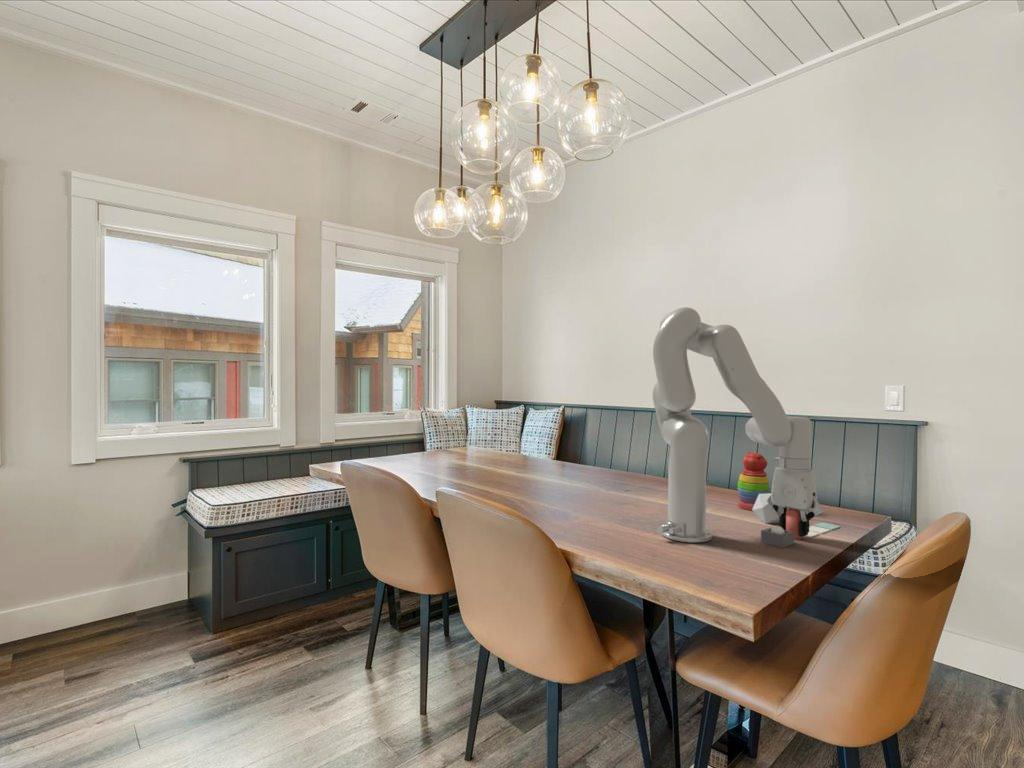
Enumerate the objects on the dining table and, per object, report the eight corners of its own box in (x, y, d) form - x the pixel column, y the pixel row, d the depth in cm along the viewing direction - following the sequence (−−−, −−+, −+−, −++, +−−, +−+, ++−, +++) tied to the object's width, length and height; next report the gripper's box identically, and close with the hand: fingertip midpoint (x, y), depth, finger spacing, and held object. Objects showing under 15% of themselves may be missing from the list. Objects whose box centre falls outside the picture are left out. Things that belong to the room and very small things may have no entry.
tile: (831, 530, 150) (831, 529, 150) (813, 526, 154) (813, 525, 154) (840, 527, 153) (840, 526, 153) (821, 523, 157) (821, 522, 157)
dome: (780, 543, 136) (780, 528, 136) (768, 540, 139) (768, 525, 139) (787, 541, 138) (787, 526, 138) (774, 538, 141) (774, 523, 141)
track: (810, 537, 143) (810, 536, 143) (791, 533, 147) (791, 532, 147) (830, 530, 150) (830, 529, 150) (811, 526, 154) (811, 525, 154)
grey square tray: (782, 547, 135) (782, 535, 135) (760, 542, 139) (761, 530, 139) (794, 543, 138) (794, 532, 138) (772, 538, 143) (772, 526, 143)
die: (788, 530, 153) (797, 498, 157) (760, 514, 153) (770, 483, 157) (769, 532, 161) (779, 502, 165) (743, 517, 161) (753, 487, 165)
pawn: (797, 540, 141) (797, 509, 141) (782, 537, 144) (783, 506, 144) (804, 538, 143) (805, 507, 143) (790, 534, 146) (790, 504, 146)
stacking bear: (778, 511, 170) (779, 454, 170) (747, 512, 170) (747, 455, 170) (761, 503, 181) (761, 450, 181) (731, 503, 181) (731, 450, 180)
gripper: (756, 460, 148) (755, 528, 148) (821, 469, 134) (820, 544, 134) (771, 458, 152) (770, 523, 152) (835, 467, 138) (834, 538, 139)
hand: (793, 532), depth 143 cm, fingers open, 4 cm apart
